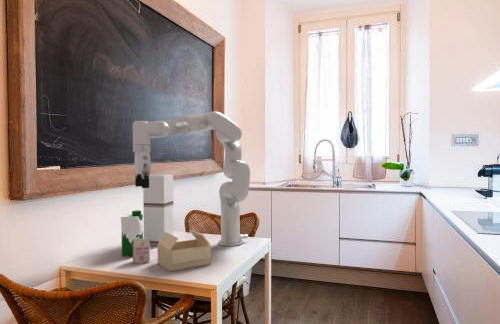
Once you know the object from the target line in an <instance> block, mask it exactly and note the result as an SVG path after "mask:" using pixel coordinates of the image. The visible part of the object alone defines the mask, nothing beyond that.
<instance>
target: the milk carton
mask: <svg viewBox="0 0 500 324" xmlns="http://www.w3.org/2000/svg"><path fill="white" fill-rule="evenodd" d="M120 223H121V225H120V227H121V257H128V258H129V257H132V258H133V239H144V213H142V210H138V209H137V210H132V211H131V213H128V214H124V215H122V216H120Z"/></svg>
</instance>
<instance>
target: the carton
mask: <svg viewBox="0 0 500 324" xmlns="http://www.w3.org/2000/svg"><path fill="white" fill-rule="evenodd" d="M156 246H157V264H158V265H159V264H160V265H159V266H160V267H162V268H163V267H164V269H165V270H166V271H168V272H169V273H172V272H177V271H181V270H187V269H189V270H190V269H193V268H194V269H195V268H199V267H206V266H209V265H210V266H211V265H212V245H211V244H210V245H208V244H206V243H204V242H202V241H199V240H197V239H196V238H195V239H187V240H181V241H176V243H175V244H174V246H173V247H172V249H171V250H168V249H167V248H165V247H163V246H162V245H160V244H157V245H156Z"/></svg>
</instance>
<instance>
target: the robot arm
mask: <svg viewBox="0 0 500 324" xmlns="http://www.w3.org/2000/svg"><path fill="white" fill-rule="evenodd" d="M210 130H215V131H216V132H215V136H216V138H217V140H218V141H219V142H220V143H221V144H222V146H223V149H224V161H223V162H224V163H223V175H224V177H226V178H227V179H231V181H225V182H223V183H222V184H221V185H220V186H219V190H218V191H219V192H218V195H219V200H220V201H219V202H220V239H219V240H218V241H217V244H218V245H220V246H223V247H224V246H225V247H235V246H237V247H238V246H241V245H243V244H244V240H243V239H248V238H249V235H248V234H244V233H243V234H242V233H240V232H241V231H240V230H241V228H240V226H241V225H240V224H241V223H240V220H241V219H240V217H241V215H240V212H241V211H240V210H241V208H240V204H239V203H242V202H244V201H245V200H246V199H247V197H248V196H249V190H250V179H251V169H250V166H249V164H248V163H247V162H246V161H243V160H242V152H243V150H242V146H241V144H240V141H239V140H240V139H241V138H242V135H243V133H242V130H241V127H240V126H239V125H238V124H237V123H235V122H234V121H232V120H231V119H230V118H229V117H227V116H226V115H224V114H223V113H221V112H219V111H217V110H216V111H215V110H214V111H213V110H212V111H210V112H204V113H197V114H191V115H190V114H189V115H183V116H180V117H176V118H172V119H167V120H156V121H147V120H135V121H133V123H132V152H133V153H134V174H135V176H134V177H135V178H134V179H135V184H134V185H135V187H137V188H138V187H141V189H143V188H149V176H150V174H152V163H151V161H152V160H151V154H150V153H151V139H159V138H161V139H162V138H164V137H169V136H176V135H188V134H194V133H200V132H204V131H210Z"/></svg>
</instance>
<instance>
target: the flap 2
mask: <svg viewBox="0 0 500 324" xmlns="http://www.w3.org/2000/svg"><path fill="white" fill-rule="evenodd" d="M188 231H189V232H190V233H191V235H192V236H193V237H194V238H195V239H197V240H199V241H202V242H204V243H206V244H208V245H211V243H210V242H209V240H208V239H207V238H206V237H205V235H204V234H203V233H200V232H198V231H195V230H193V229H188Z"/></svg>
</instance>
